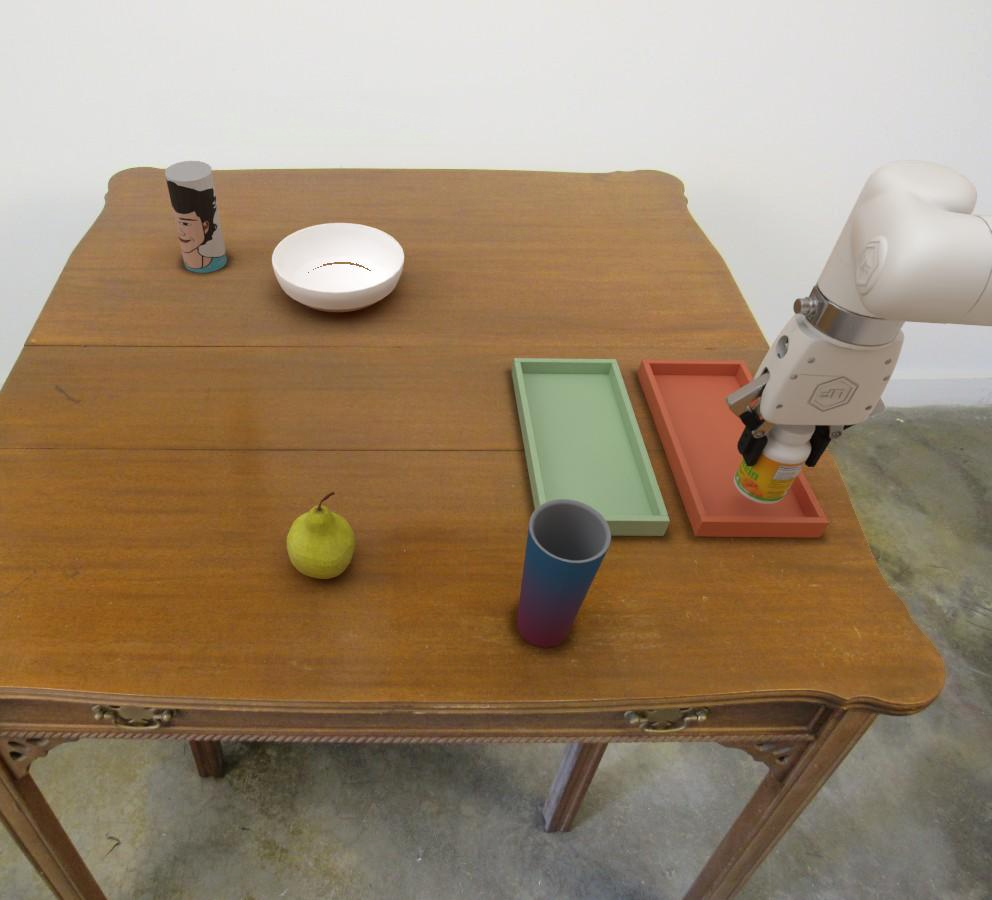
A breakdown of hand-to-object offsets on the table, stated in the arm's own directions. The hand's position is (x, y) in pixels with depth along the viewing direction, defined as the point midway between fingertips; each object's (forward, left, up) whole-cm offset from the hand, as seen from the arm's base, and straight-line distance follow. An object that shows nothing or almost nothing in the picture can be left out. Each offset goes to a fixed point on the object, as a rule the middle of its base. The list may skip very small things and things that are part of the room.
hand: (775, 455), depth 77 cm
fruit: (-8, +47, -9) cm, 49 cm away
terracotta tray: (+10, 0, -9) cm, 13 cm away
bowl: (+43, +48, -9) cm, 65 cm away
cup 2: (-15, +25, -9) cm, 31 cm away
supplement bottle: (0, 0, -5) cm, 5 cm away
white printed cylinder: (+51, +70, -9) cm, 87 cm away
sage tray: (+10, +17, -9) cm, 22 cm away
